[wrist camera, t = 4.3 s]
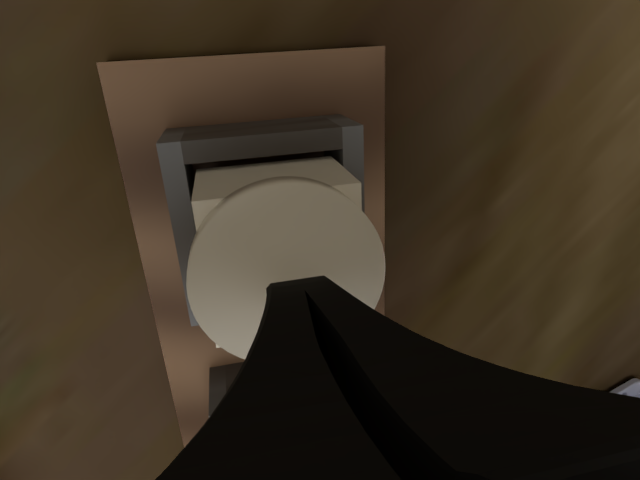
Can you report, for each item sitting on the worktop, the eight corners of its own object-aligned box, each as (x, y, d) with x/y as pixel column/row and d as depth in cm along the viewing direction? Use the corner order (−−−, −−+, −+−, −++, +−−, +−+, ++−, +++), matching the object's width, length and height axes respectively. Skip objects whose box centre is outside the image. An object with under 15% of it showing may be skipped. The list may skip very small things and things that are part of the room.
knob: (181, 157, 14) (168, 197, 10) (341, 142, 15) (386, 173, 11) (206, 301, 16) (203, 380, 12) (346, 281, 17) (385, 347, 13)
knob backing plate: (106, 61, 16) (69, 64, 12) (372, 46, 18) (418, 44, 14) (225, 603, 29) (227, 693, 25) (376, 563, 30) (400, 641, 26)
